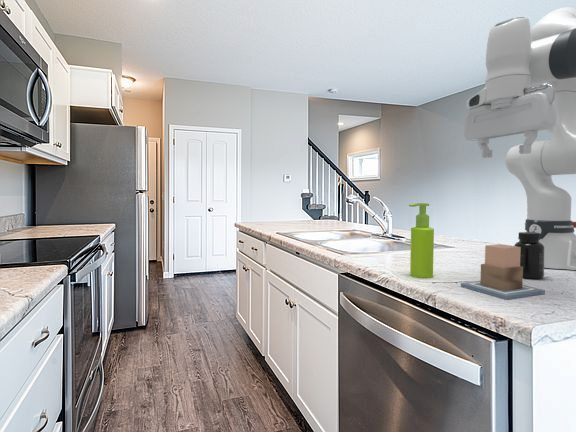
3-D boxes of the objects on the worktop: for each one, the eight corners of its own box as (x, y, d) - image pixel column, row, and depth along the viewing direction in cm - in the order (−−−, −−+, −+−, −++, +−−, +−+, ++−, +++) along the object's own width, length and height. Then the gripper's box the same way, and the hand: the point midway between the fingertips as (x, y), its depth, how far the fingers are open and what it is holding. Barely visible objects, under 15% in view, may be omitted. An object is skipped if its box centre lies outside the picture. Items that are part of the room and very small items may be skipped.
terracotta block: (500, 262, 88) (500, 244, 87) (519, 266, 83) (520, 247, 83) (484, 264, 86) (485, 245, 85) (504, 268, 81) (504, 248, 81)
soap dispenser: (402, 274, 101) (403, 203, 100) (422, 272, 104) (423, 202, 103) (417, 279, 96) (418, 203, 95) (437, 277, 98) (439, 203, 97)
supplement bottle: (531, 273, 102) (533, 231, 101) (550, 279, 95) (551, 233, 94) (507, 274, 101) (508, 231, 101) (524, 280, 94) (525, 234, 94)
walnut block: (498, 282, 89) (499, 262, 88) (522, 288, 83) (523, 266, 83) (480, 284, 86) (480, 264, 86) (503, 291, 81) (504, 268, 80)
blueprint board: (496, 282, 92) (496, 278, 92) (544, 293, 81) (544, 289, 81) (460, 286, 88) (460, 282, 88) (506, 299, 77) (506, 295, 77)
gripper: (565, 82, 73) (562, 151, 74) (479, 105, 92) (477, 160, 93) (544, 78, 71) (541, 149, 72) (460, 103, 90) (459, 159, 91)
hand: (505, 155), depth 83 cm, fingers open, 8 cm apart
